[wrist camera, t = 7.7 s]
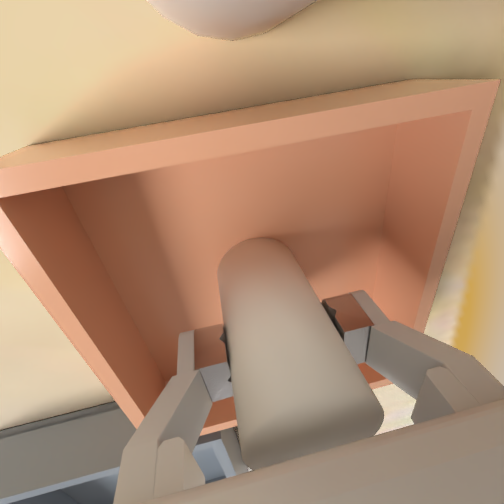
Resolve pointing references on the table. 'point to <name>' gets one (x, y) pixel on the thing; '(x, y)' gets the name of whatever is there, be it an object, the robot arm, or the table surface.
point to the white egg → (287, 360)
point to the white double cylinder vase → (228, 15)
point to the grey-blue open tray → (90, 457)
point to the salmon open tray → (240, 217)
